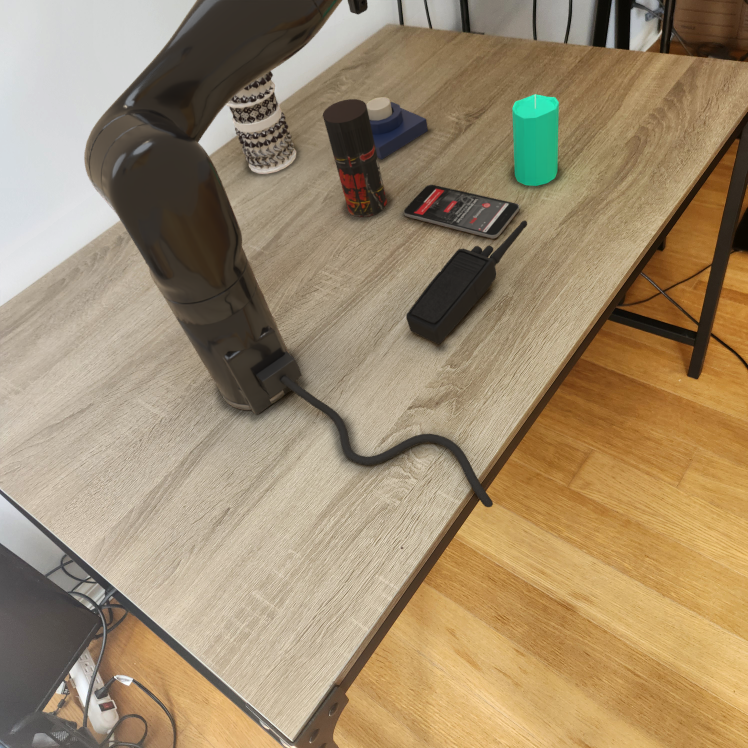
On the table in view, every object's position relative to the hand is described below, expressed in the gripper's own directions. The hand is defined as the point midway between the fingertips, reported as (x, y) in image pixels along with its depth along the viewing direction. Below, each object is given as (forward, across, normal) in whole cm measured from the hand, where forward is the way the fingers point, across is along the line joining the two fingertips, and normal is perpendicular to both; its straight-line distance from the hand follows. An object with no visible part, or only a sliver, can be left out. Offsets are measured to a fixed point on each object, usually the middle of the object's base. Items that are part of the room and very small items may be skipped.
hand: (359, 11), depth 94 cm
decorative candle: (+20, +11, +16) cm, 28 cm away
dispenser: (+20, 0, 0) cm, 20 cm away
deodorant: (+20, -13, +14) cm, 28 cm away
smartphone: (+20, -26, +7) cm, 33 cm away
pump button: (+16, 0, 0) cm, 16 cm away
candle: (+20, -28, -6) cm, 35 cm away
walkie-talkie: (+20, -39, +17) cm, 47 cm away
